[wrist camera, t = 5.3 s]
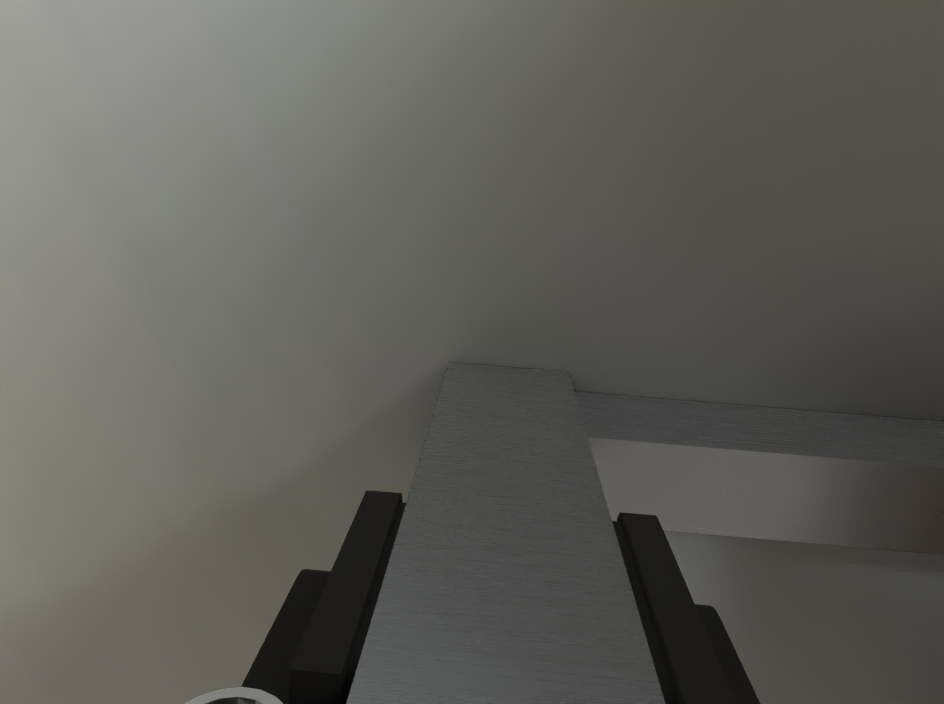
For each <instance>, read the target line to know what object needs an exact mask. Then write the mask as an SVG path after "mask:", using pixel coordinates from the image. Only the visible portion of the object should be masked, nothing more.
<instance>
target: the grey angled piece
mask: <svg viewBox="0 0 944 704" xmlns="http://www.w3.org/2000/svg"><path fill="white" fill-rule="evenodd" d="M620 512H623V513H634V514H646V515H656V516H657V518H658V519H659V522H660V524H661V526H662V529H663V531H675V532H686V533H698V534H709V535H721V536H732V537H744V538H755V539H767V540H778V541H790V542H801V543H812V544H824V545H835V546H847V547H858V548H870V549H881V550H893V551H904V552H916V553H927V554H939V555H944V421H933V420H921V419H908V418H896V417H884V416H871V415H859V414H847V413H834V412H822V411H810V410H798V409H785V408H773V407H761V406H748V405H736V404H724V403H711V402H699V401H687V400H674V399H662V398H650V397H638V396H625V395H613V394H601V393H588V392H576V391H574V389H573V386H572V383H571V379H570V376H569V372H565V371H553V370H540V369H528V368H515V367H503V366H490V365H478V364H466V363H453V362H449V363H448V366H447V369H446V373H445V376H444V379H443V383H442V386H441V389H440V393H439V396H438V399H437V403H436V406H435V409H434V413H433V416H432V419H431V423H430V426H429V429H428V433H427V436H426V439H425V443H424V446H423V449H422V453H421V456H420V459H419V463H418V466H417V469H416V473H415V476H414V479H413V483H412V486H411V489H410V493H409V496H408V499H407V503H406V506H405V509H404V513H403V516H402V519H401V523H400V526H399V529H398V533H397V536H396V539H395V543H394V546H393V549H392V553H391V556H390V559H389V563H388V566H387V569H386V573H385V576H384V579H383V583H382V586H381V589H380V593H379V596H378V599H377V603H376V606H375V609H374V613H373V616H372V619H371V623H370V626H369V629H368V633H367V636H366V639H365V643H364V646H363V649H362V653H361V656H360V659H359V663H358V666H357V669H356V673H355V676H354V679H353V683H352V686H351V689H350V693H349V696H348V699H347V703H346V704H665V701H664V697H663V694H662V690H661V687H660V683H659V680H658V677H657V673H656V670H655V666H654V663H653V660H652V656H651V653H650V649H649V646H648V642H647V639H646V636H645V632H644V629H643V625H642V622H641V618H640V615H639V612H638V608H637V605H636V601H635V598H634V595H633V591H632V588H631V584H630V581H629V577H628V574H627V571H626V567H625V564H624V560H623V557H622V554H621V550H620V547H619V543H618V540H617V536H616V533H615V530H614V526H613V523H612V521H617V518H618V515H619V513H620Z"/></svg>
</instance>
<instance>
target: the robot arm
mask: <svg viewBox="0 0 944 704" xmlns="http://www.w3.org/2000/svg"><path fill="white" fill-rule="evenodd" d="M405 506H406V503H402V494H401V493H391V492H379V491H366V493H365V495H364V497H363V499H362V502H361V504H360V506H359V509H358V511H357V513H356V515H355V518H354V520H353V522H352V525H351V527H350V529H349V532H348V534H347V536H346V538H345V541H344V543H343V545H342V548H341V550H340V552H339V555H338V557H337V559H336V561H335V564H334V566H333V568H332V571H320V570H309V569H304V570H302V571H301V572H300V573H299V575H298V576H297V578H296V580H295V582H294V584H293V586H292V588H291V590H290V592H289V594H288V596H287V598H286V600H285V602H284V604H283V606H282V608H281V610H280V612H279V614H278V616H277V618H276V619H275V621H274V623H273V625H272V627H271V629H270V631H269V633H268V635H267V637H266V639H265V641H264V643H263V645H262V647H261V649H260V651H259V653H258V655H257V657H256V659H255V661H254V663H253V664H252V666H251V668H250V670H249V672H248V674H247V676H246V678H245V680H244V682H243V684H242V686H241V687H233V688H222V689H218V690H215V691H212V692H208V693H205V694H202V695H199V696H197V697H195V698H194V699H192V700H190V701H188V702H186V703H184V704H346V703H347V699H348V696H349V693H350V689H351V686H352V683H353V679H354V676H355V673H356V669H357V666H358V663H359V659H360V656H361V653H362V649H363V646H364V643H365V639H366V636H367V633H368V629H369V626H370V623H371V619H372V616H373V613H374V609H375V606H376V603H377V599H378V596H379V593H380V589H381V586H382V583H383V579H384V576H385V573H386V569H387V566H388V563H389V559H390V556H391V553H392V549H393V546H394V543H395V539H396V536H397V533H398V529H399V526H400V523H401V519H402V516H403V513H404V509H405ZM612 523H613V526H614V530H615V533H616V536H617V540H618V543H619V547H620V550H621V554H622V557H623V560H624V564H625V567H626V571H627V574H628V577H629V581H630V584H631V588H632V591H633V595H634V598H635V601H636V605H637V608H638V612H639V615H640V618H641V622H642V625H643V629H644V632H645V636H646V639H647V642H648V646H649V649H650V653H651V656H652V660H653V663H654V666H655V670H656V673H657V677H658V680H659V683H660V687H661V690H662V694H663V697H664V701H665V704H760V702H759V700H758V698H757V696H756V694H755V692H754V690H753V687H752V685H751V683H750V681H749V679H748V677H747V675H746V672H745V670H744V668H743V666H742V664H741V662H740V660H739V657H738V655H737V653H736V651H735V649H734V647H733V645H732V642H731V640H730V638H729V636H728V634H727V632H726V630H725V627H724V625H723V623H722V621H721V619H720V617H719V615H718V613H717V612H716V610H715V609H714V608H713V607H711V606H708V605H697V604H694V602H693V600H692V597H691V595H690V593H689V590H688V588H687V585H686V583H685V581H684V578H683V576H682V574H681V571H680V569H679V567H678V564H677V562H676V559H675V557H674V555H673V552H672V550H671V548H670V545H669V543H668V541H667V538H666V536H665V533H664V531H663V529H662V526H661V524H660V522H659V519H658V518H657V516H656V515H646V514H634V513H623V512H620V513H619V515H618V518H617V521H612Z"/></svg>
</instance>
